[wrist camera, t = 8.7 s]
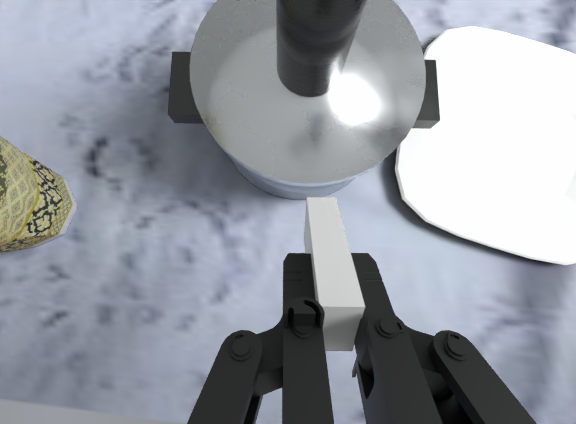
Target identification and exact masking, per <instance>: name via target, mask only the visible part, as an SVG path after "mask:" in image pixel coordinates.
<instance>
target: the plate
mask: <svg viewBox="0 0 576 424" xmlns="http://www.w3.org/2000/svg"><path fill="white" fill-rule="evenodd" d="M424 60H436V68H437V82H438V96H439V110H440V121H439V122H438V123H437V124H436V125H434V126H433V127H432V128H431V129H421V128H412V129H411V130H410V132H409V133H408V135H407V136H406V138H405V139H404V140H403V141H402V142H401V143H400V145H399V146H398V147H397V151H396V159H395V167H394V172H395V176H396V179H397V183H398V187H399V191H400V195H401V199H402V200H403V201H404V202H405V203H406V204H407V205H408V206H409V207H410V208H411V209H412V210H413V211H414V212H415V213H416V214H417V215H418V216H419V217H420V218H421V219H422V220H423V221H425V222H427V223H429V224H431V225H433V226H436V227H438V228H440V229H442V230H444V231H447V232H449V233H451V234H453V235H455V236H458V237H461V238H464V239H467V240H470V241H473V242H476V243H479V244H482V245H485V246H488V247H491V248H495V249H498V250H501V251H505V252H508V253H511V254H515V255H518V256H521V257H525V258H528V259H533V260H539V261H544V262H550V263H556V264H561V265H569V264H574V263H576V54H573V53H571V52H569V51H566V50H563V49H559V48H556V47H553V46H550V45H547V44H544V43H541V42H538V41H534V40H531V39H527V38H524V37H520V36H517V35H513V34H510V33H506V32H502V31H497V30H492V29H486V28H481V27H475V26H468V27H461V28H455V29H448V30H445V31H444V32H443V33H442V34H441V35H440V36H438V37H437V38H436V39H435V40H434V41H433V42H432V43H431V44H430V45H429V46H428V47H427V48H426V50H425V53H424Z"/></svg>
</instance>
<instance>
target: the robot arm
mask: <svg viewBox="0 0 576 424" xmlns="http://www.w3.org/2000/svg"><path fill="white" fill-rule="evenodd" d="M304 245H305V253H288V255H287V256H286V258H285V260H284V262H283V316H282V318H281V320H280V322H279V323H278V324H277V325H276V326H275V327H273V328H272V329H270V330H268V331H265V332H262V333H259V334H255V333H253V332H251V331H247V330H240V331H237V332H234V333H232V334H231V335H229V336H228V337H227V338H226V339H225V341H224V342H223V344H222V345H221V348H220V350H219V352H218V355H217V357H216V359H215V361H214V364H213V366H212V368H211V370H210V373H209V375H208V377H207V380H206V382H205V384H204V386H203V389H202V391H201V393H200V395H199V398H198V400H197V402H196V405H195V407H194V409H193V411H192V414H191V416H190V418H189V420H188V423H187V424H255V423H256V419H257V415H258V412H259V408H260V405H261V401H262V397H263V395H264V394H267V393H269V392H272V391H274V390H277V389H279V388H282V424H334V420H333V411H332V403H331V395H330V386H329V378H328V370H327V361H326V353H325V351H352V350H353V347H354V344H355V348H356V353H357V357H356V361H355V364H354V367H353V370H352V377H355V376H356V373H357V378H358V383H359V388H360V393H361V398H362V403H363V409H364V414H365V419H366V424H536V422H535V421H534V420H533V419H532V417H531V416H530V415H529V414H528V412H527V411H526V410H525V409H524V407H523V406H522V405H521V404H520V403H519V401H518V400H517V399H516V398H515V396H514V395H513V394H512V393H511V391H510V390H509V389H508V388H507V386H506V385H505V384H504V383H503V381H502V380H501V379H500V378H499V376H498V375H497V374H496V373H495V371H494V370H493V369H492V368H491V366H490V365H489V364H488V363H487V361H486V360H485V359H484V358H483V357H482V355H481V354H480V353H479V352H478V350H477V349H476V348H475V347H474V345H473V344H472V343H471V342H470V341H469V340H468V339H467V338H465V337H464V336H462V335H460V334H459V333H456V332H453V331H450V330H446V331H440V332H438V333H436V335H435V336H432V335H429V334H425V333H422V332H419V331H416V330H413V329H411V328H409V327H407V326H406V325H404V323H403V322H402V321H401V320H400V319H399V318H398V317H397V316H396V315H395V313H394V311H393V309H392V306H391V303H390V300H389V297H388V295H387V292H386V289H385V286H384V283H383V282H382V278H381V275H380V274H379V269H378V267H377V264H376V262H375V260H374V259H373V258H372V257H371V256H370V255H369V254H368V253H351V252H350V248H349V244H348V241H347V237H346V233H345V229H344V226H343V222H342V218H341V215H340V211H339V207H338V203H337V200H336V197H307V201H306V215H305V229H304Z"/></svg>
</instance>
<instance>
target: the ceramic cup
mask: <svg viewBox="0 0 576 424" xmlns="http://www.w3.org/2000/svg"><path fill="white" fill-rule="evenodd" d="M76 210H77V204H76V201H75V198H74V196H73V193H72V191H71V188H70V185H69V183H68V181H67V180H66V179H65V178H63V177H61V176H60V175H59V174H57V173H55V172H53V171H52V170H50V169H49V168H47V167H45V166H44V165H42V164H41V163H39V162H38V161H36V160H34V159H33V158H31V157H29V156H28V155H26V154H24V153H23V152H21V151H20V150H19V149H17V148H16V147H15V146H13V145H12V144H11V143H9V142H8V141H7V140H5V139H4V138H2V137H0V253H1V252H6V251H12V250H18V249H25V248H30V247H36V246H39V245H42V244H44V243H46V242H48V241H51V240H53V239H55V238H58V237H60V236H62V235H64V234H65V233H66V231H67V229H68V227H69V225H70V222H71V220H72V218H73V216H74V214H75V212H76Z"/></svg>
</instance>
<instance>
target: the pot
mask: <svg viewBox="0 0 576 424" xmlns="http://www.w3.org/2000/svg"><path fill="white" fill-rule="evenodd" d="M190 57H191V52H172V64H171V77H170V91H169V105H168V115H169V116H170V117H171V119H172V120H173V121H174V123H204V122H203V120H202V118H201V116H200V113H199V111H198V109H197V107H196V104H195V101H194V97H193V94H192V89H191V83H190ZM424 61H425V68H426V86H425V93H424V99H423V102H422V106H421V109H420V112H419V115H418V117H417V119H416V121H415V123H414V125H413V127H412V128H421V129H431V128H432V127H433V126H434V125H436V124H437V123H438V122H439V121H440V110H439V96H438V82H437V68H436V60H424ZM230 158H231V157H230ZM231 160H232V162H233V163H234V165H235V166H236V168H237V169H238V170H239V171H240V173H241V174H242V175H243V176H244V177H245V178H246V179H247V180H249V181H250V182H251V183H252V184H254V185H255V186H257V187H258V188H260V189H262V190H264V191H265V192H267V193H270V194H273V195H275V196H278V197H283V198H287V199H297V200H304V199H307V197H323V196H326V195H329V194H332V193H334V192H336V191H338V190H340V189H341V188H343V187H344V186H346V185H348V184H349V183H350V182H351V181H352V180H353V179H355V178H356V177H355V178H353V179H350V180H347V181H344V182H341V183H337V184H331V185H326V186H313V187H304V186H292V185H287V184H283V183H278V182H275V181H272V180H269V179H266V178H263V177H261V176H259V175H257V174H255V173H253V172H251V171H249V170H248V169H246V168H245V167H243V166H242V165H240V164H239V163H237V162H236V161H235V160H234V159H232V158H231Z"/></svg>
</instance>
